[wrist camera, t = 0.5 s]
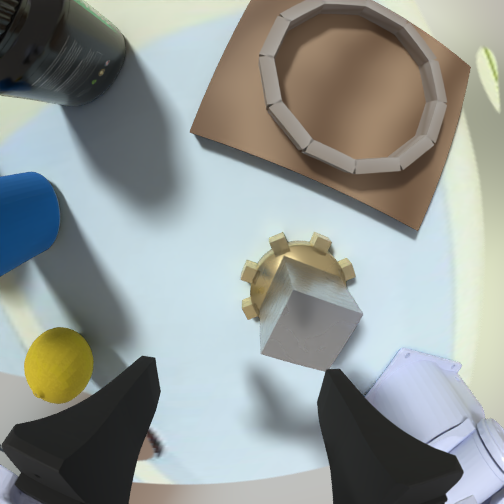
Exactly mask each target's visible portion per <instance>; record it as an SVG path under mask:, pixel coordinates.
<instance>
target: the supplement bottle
mask: <svg viewBox="0 0 504 504" xmlns="http://www.w3.org/2000/svg"><path fill="white" fill-rule="evenodd" d="M124 58H125V41H124V37H123V35H122V33H121V32H120V31H119V29H118V28H117V27H116V26H114V25H113V24H112V23H111V22H110V21H109V20H108V19H106V18H105V17H104V16H103V15H101V14H100V13H99V12H98V11H96V10H95V9H94V8H93V7H91V6H90V5H89V4H88V3H86V2H85V1H84V0H0V95H1V96H9V97H16V98H23V99H30V100H36V101H43V102H48V103H54V104H59V105H66V106H79V105H83V104H86V103H88V102H90V101H92V100H94V99H96V98H97V97H99V96H100V95H101V94H102V93H104V92H105V91H106V90H107V89H108V88H109V87H110V85H111V84H112V83H113V82H114V80H115V79H116V77H117V75H118V74H119V72H120V70H121V67H122V65H123V62H124Z"/></svg>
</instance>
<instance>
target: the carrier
mask: <svg viewBox="0 0 504 504" xmlns="http://www.w3.org/2000/svg"><path fill="white" fill-rule="evenodd" d="M470 68H471V67H470V66H469V65H468V64H467V63H465V62H464V61H463V60H462V59H461V58H459V57H458V56H457V55H456V54H454V53H453V52H452V51H450V50H449V49H448V48H446V47H445V46H444V45H443V44H441V43H440V42H439V41H437V40H436V39H434V38H433V37H432V36H430V35H429V34H427V33H426V32H424V31H423V30H421V29H420V28H418V27H417V26H415V25H414V24H412V23H411V22H409V21H407V20H406V19H405V18H403V17H401V16H400V15H398V14H396V13H395V12H393V11H391V10H389V9H388V8H386V7H384V6H382V5H380V4H378V3H376V2H375V1H373V0H251V1H250V3H249V4H248V6H247V8H246V10H245V12H244V14H243V15H242V17H241V19H240V21H239V23H238V25H237V27H236V29H235V31H234V33H233V35H232V37H231V39H230V41H229V43H228V45H227V47H226V49H225V51H224V53H223V55H222V57H221V59H220V61H219V64H218V66H217V68H216V70H215V72H214V75H213V77H212V79H211V81H210V83H209V86H208V88H207V90H206V93H205V95H204V97H203V100H202V102H201V105H200V107H199V109H198V112H197V114H196V117H195V119H194V122H193V124H192V127H191V129H190V133H193V134H196V135H199V136H202V137H205V138H208V139H211V140H213V141H216V142H219V143H222V144H225V145H228V146H230V147H233V148H236V149H239V150H241V151H244V152H247V153H249V154H252V155H255V156H257V157H260V158H262V159H265V160H267V161H270V162H273V163H275V164H277V165H280V166H282V167H285V168H287V169H290V170H292V171H294V172H297V173H299V174H302V175H304V176H306V177H308V178H311V179H313V180H315V181H318V182H320V183H322V184H324V185H327V186H329V187H331V188H333V189H335V190H337V191H340V192H342V193H344V194H346V195H348V196H350V197H352V198H354V199H356V200H359V201H361V202H363V203H365V204H367V205H369V206H371V207H373V208H375V209H377V210H379V211H381V212H383V213H385V214H386V215H388V216H390V217H392V218H394V219H396V220H398V221H400V222H402V223H404V224H405V225H407V226H409V227H411V228H413V229H415V230H417V231H418V230H419V227H420V225H421V223H422V221H423V218H424V216H425V214H426V211H427V209H428V206H429V204H430V202H431V199H432V197H433V194H434V191H435V189H436V186H437V184H438V181H439V178H440V176H441V173H442V170H443V167H444V164H445V161H446V159H447V156H448V153H449V149H450V146H451V143H452V140H453V137H454V133H455V130H456V127H457V123H458V120H459V116H460V112H461V108H462V104H463V100H464V96H465V92H466V87H467V83H468V78H469V73H470Z"/></svg>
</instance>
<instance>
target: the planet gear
mask: <svg viewBox="0 0 504 504" xmlns="http://www.w3.org/2000/svg"><path fill="white" fill-rule="evenodd" d="M269 243H270V245H271V248H272V249H271V250H269V251H268V252H267V253H266V254H265V255H264V256H263V257H262V258H261V259H260V260H259V262H258V263H255V262H252V261H249V260H246V263H245V265H244V268H243V270H242V273H241V280H243V281H246V282H249V283H251V290H250V296H251V297H249V298H246V299H244V300H242V310H243V311H244V313H245V315H246V317H247V319H248V320H249V319H252V318H254V317H257V316H258V317H259V318H260V346H261V354H263V355H266V356H269V357H273V358H276V359H280V360H283V361H287V362H290V363H294V364H298V365H301V366H305V367H309V368H313V369H317V370H321V371H325V372H326V369H329V368H330V367H331V365H332V364H333V362H334V361H335V359H336V358H337V356H338V355H339V353H340V352H341V350H342V348H343V347H344V345H345V344H346V342H347V341H348V339H349V337H350V336H351V334H352V332H353V331H354V329H355V328H356V326H357V324H358V323H359V321H360V319H361V317H362V316H363V313H362V311H361V309H360V308H359V306H358V305H357V303H356V302H355V300H354V298H353V297H352V295H351V294H350V292H349V291H348V289H347V288H346V281H347V280H350V279H352V278H354V277H356V276H355V273H354V269H353V266H352V263H351V262H350V261H349V260H348V259H347V258H345V259H343V260H340V261H338V262H337V261H336V259H335V258H334V257H333V256H332V254H331V253H330V252H328V250H329V248H330V245H331V243H332V242H331V241H330V240H329V238H328V237H325V236H323V235H321V234H318V233H316V232H314V233H313V236H312V238H311V240H310V242H307V241H291V242H287V241H286V238H285V236H284V233H283V232H282V233H280V234H277V235H275V236H272V237H270V238H269Z"/></svg>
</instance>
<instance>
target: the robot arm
mask: <svg viewBox="0 0 504 504" xmlns="http://www.w3.org/2000/svg"><path fill="white" fill-rule="evenodd" d="M406 354H407V355H406ZM461 367H462V364H461V363H460V362H456V361H452V360H448V359H444V358H441V357H437V356H433V355H429V354H426V353H422V352H418V351H414V350H411V349H407V348H402V349H400V350H399V351H398V353H397V354H396V355H395V357H394V358H393V360H392V361H391V363H390V364H389V365H388V367H387V368H386V370H385V371H384V372H383V374H382V375H381V376H380V378H379V379H378V380H377V382H376V383H375V384H374V386H373V387H372V388H371V389H370V391H369V392H368V393H367V395H366V396H365V397H364V396H363V395H362V394H361V393H360V392H359V390H358V389H357V388H356V387H355V386H354V385H353V384H352V382H351V381H350V380H349V379H348V378H347V377H346V375H345V374H344V373H343V372H342V371H341V370H340V369H326V372H325V376H324V379H323V383H322V387H321V390H320V394H319V397H318V401H317V406H318V415H319V423H320V427H321V431H322V435H323V439H324V443H325V448H326V452H327V456H328V460H329V465H330V470H331V480H332V491H333V504H504V429H503V428H502V427H501V425H500V424H499V423H498V422H497V421H495V420H494V419H486V418H485V414H484V410H483V407H482V406H481V404H480V403H479V402H478V400H477V399H476V397H475V396H474V395H473V393H472V392H471V390H470V389H469V388H468V386H467V385H466V384H465V382H464V381H463V380H462V378H461V377H460V376H459V375H458V371H459V370H460V369H461ZM160 392H161V391H160V385H159V379H158V373H157V367H156V360H155V358H153V357H147V356H141V357H140V358H139V359H137V360H136V361H135V362H134V363H133V364H132V365H130V366H129V367H128V368H127V369H126V370H125V371H123V372H122V373H121V374H120V375H119V376H117V377H116V378H115V379H114V380H112V381H111V382H110V383H109V384H107V385H106V386H105V387H103V388H102V389H101V390H99V391H98V392H96V393H95V394H93V395H92V396H90V397H89V398H87V399H85V400H84V401H82V402H80V403H78V404H76V405H74V406H72V407H70V408H68V409H66V410H63V411H61V412H59V413H57V414H54V415H51V416H48V417H45V418H42V419H39V420H35V421H31V422H26V423H21V424H16V425H15V426H14V427H13V429H12V430H11V432H10V433H9V434H8V436H7V437H6V439H5V441H4V442H3V443H2V448H3V450H4V452H5V454H6V455H7V456H8V457H9V459H10V460H11V461H12V462H13V463H14V465H15V466H16V467H17V468H18V469H19V470H20V472H21V474H20V476H19V477H18V476H17V475H16V474H14V473H13V472H12V471H10V470H8V469H7V468H5V467H4V466H2V465H1V464H0V504H128V503H129V497H130V491H131V486H132V481H133V476H134V471H135V467H136V463H137V459H138V455H139V452H140V449H141V447H142V444H143V441H144V439H145V437H146V434H147V432H148V429H149V427H150V424H151V422H152V419H153V417H154V414H155V411H156V408H157V404H158V400H159V396H160Z"/></svg>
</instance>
